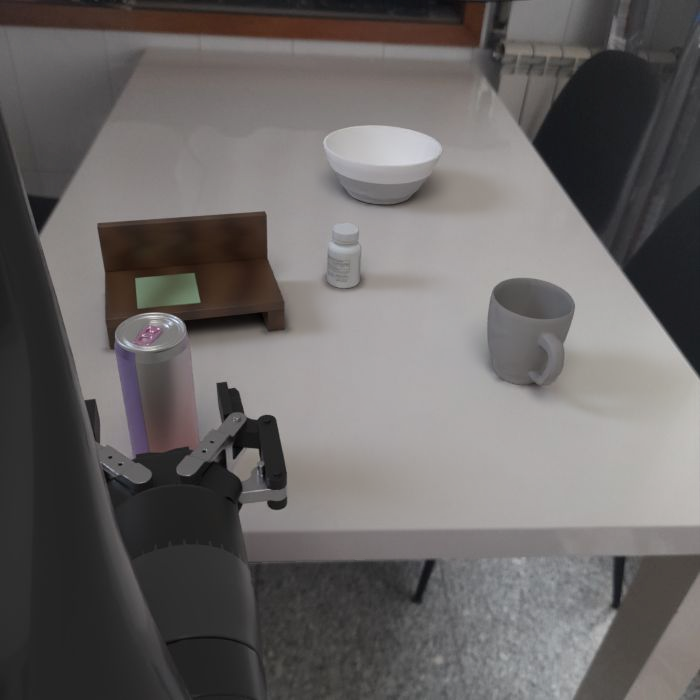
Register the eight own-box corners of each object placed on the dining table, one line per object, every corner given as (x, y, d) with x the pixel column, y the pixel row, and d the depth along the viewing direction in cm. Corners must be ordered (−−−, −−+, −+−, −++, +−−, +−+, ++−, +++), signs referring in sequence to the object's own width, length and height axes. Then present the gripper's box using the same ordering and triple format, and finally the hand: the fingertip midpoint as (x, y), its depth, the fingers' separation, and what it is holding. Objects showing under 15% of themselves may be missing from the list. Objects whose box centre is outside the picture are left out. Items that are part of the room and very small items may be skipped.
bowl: (303, 179, 125) (303, 132, 120) (399, 165, 132) (403, 120, 128) (355, 224, 111) (358, 173, 106) (459, 205, 118) (466, 157, 114)
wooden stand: (110, 349, 81) (96, 271, 75) (109, 295, 90) (97, 222, 85) (284, 329, 86) (284, 255, 80) (266, 280, 95) (265, 210, 90)
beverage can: (123, 480, 65) (98, 343, 56) (153, 437, 70) (134, 305, 61) (185, 494, 64) (168, 357, 55) (211, 449, 69) (200, 317, 60)
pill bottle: (345, 269, 99) (348, 218, 94) (366, 283, 96) (369, 230, 92) (320, 278, 96) (321, 226, 92) (340, 292, 94) (343, 239, 89)
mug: (466, 351, 84) (479, 279, 79) (535, 344, 86) (553, 274, 80) (507, 417, 75) (524, 341, 69) (584, 408, 76) (607, 333, 71)
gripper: (318, 523, 35) (261, 341, 48) (6, 581, 32) (33, 369, 45) (316, 616, 40) (264, 426, 52) (41, 676, 36) (56, 457, 49)
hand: (158, 400), depth 48 cm, fingers open, 8 cm apart
